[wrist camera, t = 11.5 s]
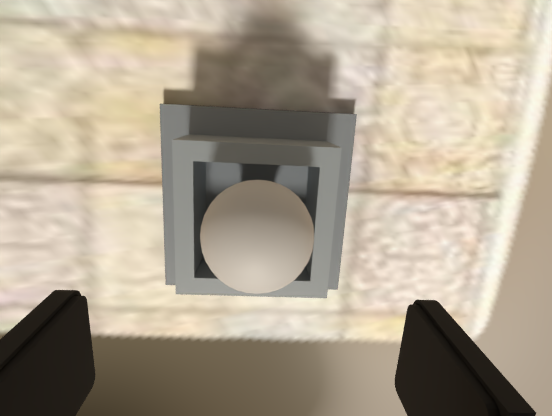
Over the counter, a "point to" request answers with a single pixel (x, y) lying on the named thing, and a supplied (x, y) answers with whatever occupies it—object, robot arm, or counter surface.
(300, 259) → the lightbulb
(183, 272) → the socket holder
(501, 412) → the robot arm
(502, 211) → the counter surface
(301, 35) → the counter surface
